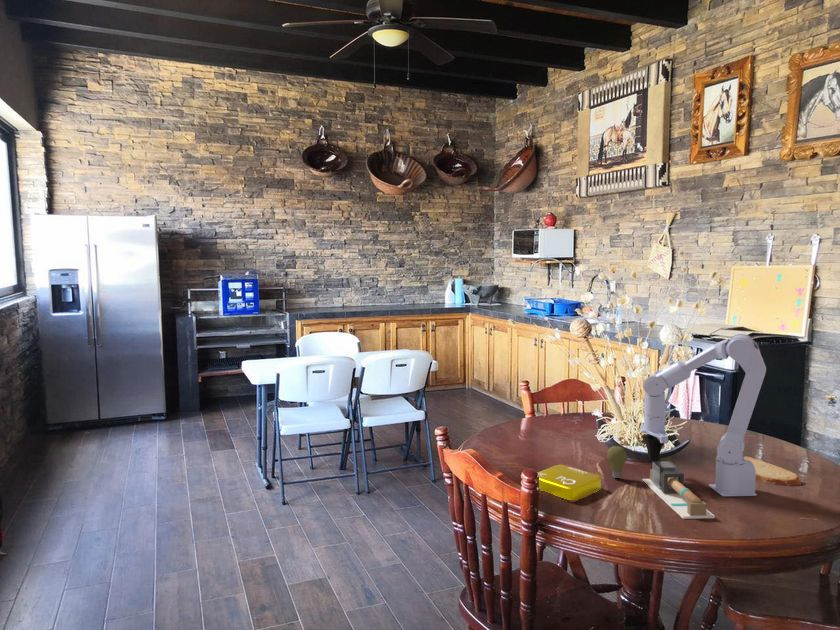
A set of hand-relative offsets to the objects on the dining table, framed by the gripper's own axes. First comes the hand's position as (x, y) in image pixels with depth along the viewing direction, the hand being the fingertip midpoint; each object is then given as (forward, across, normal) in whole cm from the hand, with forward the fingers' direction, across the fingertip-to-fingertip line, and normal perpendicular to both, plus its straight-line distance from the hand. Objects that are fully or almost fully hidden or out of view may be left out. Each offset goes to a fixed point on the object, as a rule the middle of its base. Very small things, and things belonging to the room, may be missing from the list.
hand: (653, 459), depth 175 cm
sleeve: (+5, +8, 0) cm, 9 cm away
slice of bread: (+6, -2, +34) cm, 34 cm away
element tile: (+6, +7, -28) cm, 30 cm away
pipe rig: (+6, +15, 0) cm, 16 cm away
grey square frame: (+5, +13, 0) cm, 14 cm away
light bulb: (+6, 0, -11) cm, 12 cm away
